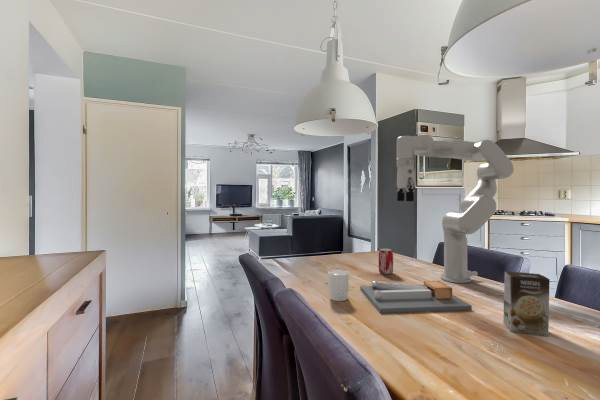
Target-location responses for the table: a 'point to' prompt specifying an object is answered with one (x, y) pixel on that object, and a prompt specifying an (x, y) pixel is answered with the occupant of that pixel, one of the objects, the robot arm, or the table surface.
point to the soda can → (385, 261)
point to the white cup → (338, 284)
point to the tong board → (411, 300)
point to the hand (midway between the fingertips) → (405, 201)
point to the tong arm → (396, 286)
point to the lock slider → (439, 289)
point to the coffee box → (526, 303)
